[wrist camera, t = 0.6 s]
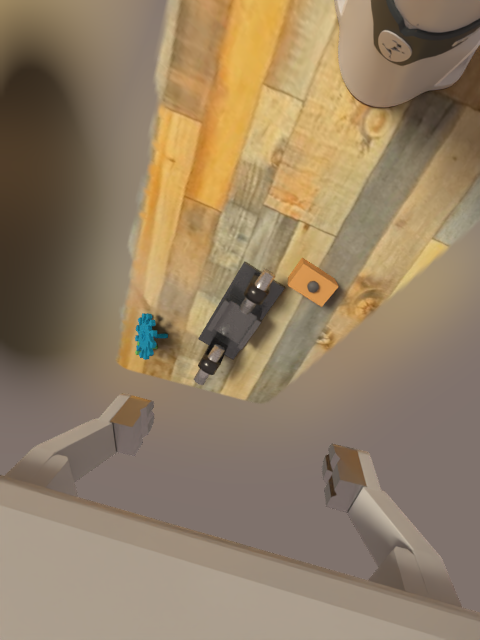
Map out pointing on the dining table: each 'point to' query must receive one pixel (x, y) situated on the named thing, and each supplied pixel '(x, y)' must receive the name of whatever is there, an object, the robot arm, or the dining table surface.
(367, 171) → the dining table surface
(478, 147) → the dining table surface
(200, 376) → the shaft stand
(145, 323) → the gear
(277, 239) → the dining table surface
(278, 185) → the dining table surface
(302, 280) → the block
